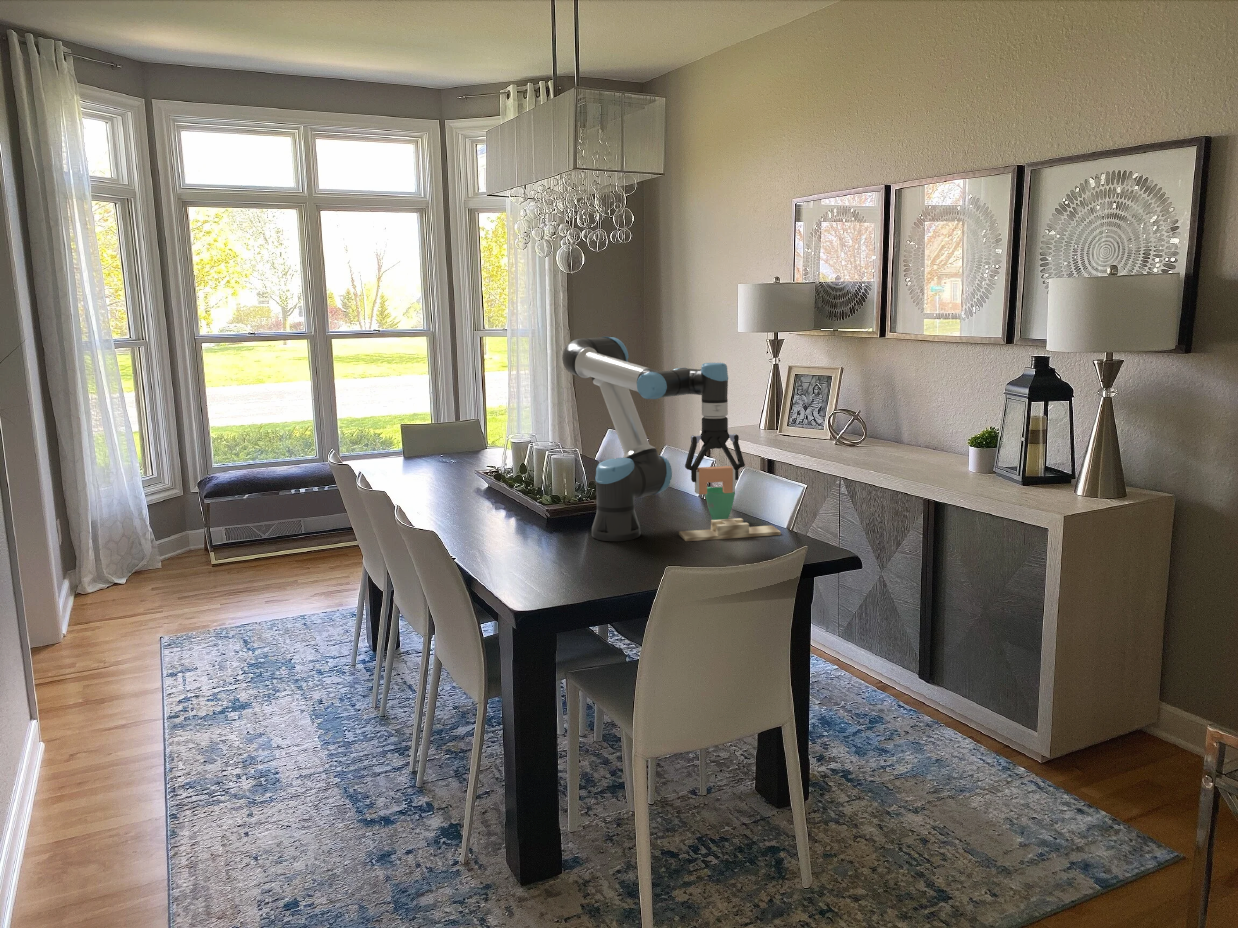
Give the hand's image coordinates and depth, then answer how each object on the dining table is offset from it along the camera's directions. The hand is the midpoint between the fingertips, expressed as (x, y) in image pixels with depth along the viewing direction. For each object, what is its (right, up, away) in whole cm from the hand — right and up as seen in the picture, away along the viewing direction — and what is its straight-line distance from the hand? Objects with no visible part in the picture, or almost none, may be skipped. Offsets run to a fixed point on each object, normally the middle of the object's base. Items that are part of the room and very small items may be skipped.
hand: (714, 491), depth 271 cm
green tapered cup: (+4, -10, +34) cm, 35 cm away
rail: (+6, -13, +13) cm, 20 cm away
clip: (0, 0, 0) cm, 0 cm away
